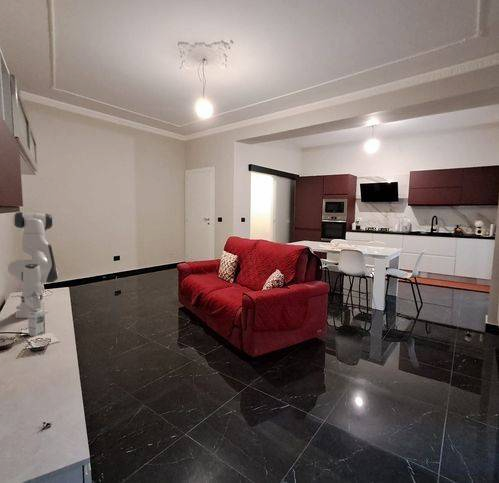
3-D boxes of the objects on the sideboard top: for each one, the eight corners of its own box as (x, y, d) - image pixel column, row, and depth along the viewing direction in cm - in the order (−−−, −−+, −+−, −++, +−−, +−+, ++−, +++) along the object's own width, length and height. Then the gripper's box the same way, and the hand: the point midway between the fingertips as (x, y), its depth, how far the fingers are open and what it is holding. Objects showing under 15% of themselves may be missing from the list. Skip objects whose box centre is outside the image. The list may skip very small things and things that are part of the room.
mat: (26, 339, 166) (26, 338, 166) (50, 333, 176) (50, 332, 175) (34, 348, 156) (34, 347, 156) (59, 341, 165) (59, 340, 165)
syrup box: (36, 336, 170) (36, 312, 169) (28, 335, 171) (27, 311, 170) (45, 333, 176) (44, 309, 175) (37, 332, 177) (36, 308, 176)
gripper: (43, 293, 172) (44, 316, 173) (33, 287, 185) (34, 308, 186) (30, 295, 167) (31, 318, 168) (21, 288, 181) (22, 310, 182)
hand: (32, 313), depth 178 cm, fingers closed
